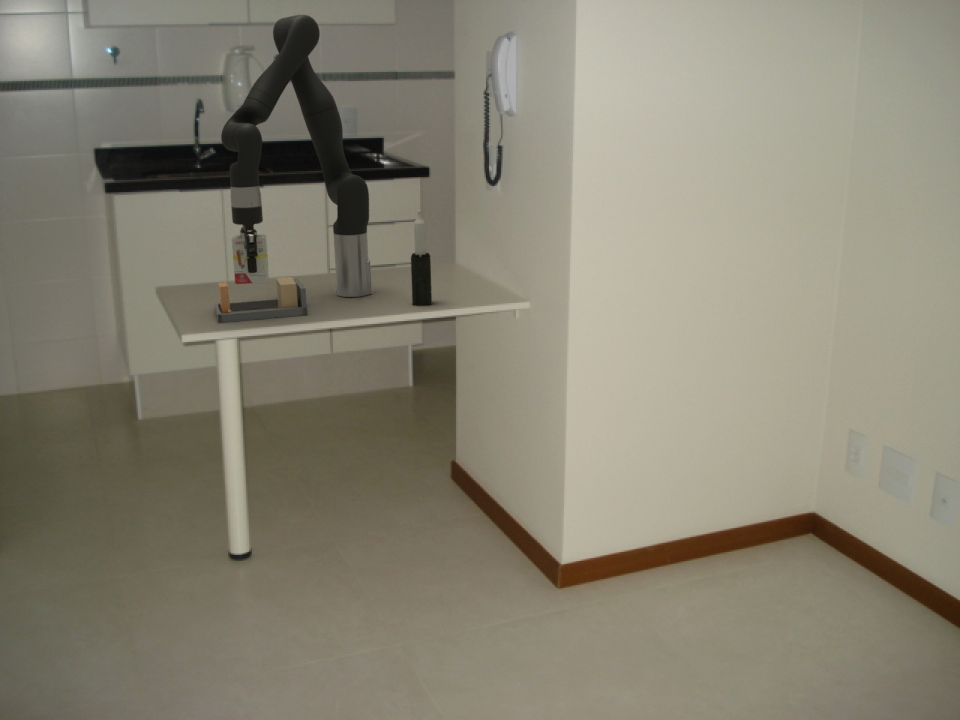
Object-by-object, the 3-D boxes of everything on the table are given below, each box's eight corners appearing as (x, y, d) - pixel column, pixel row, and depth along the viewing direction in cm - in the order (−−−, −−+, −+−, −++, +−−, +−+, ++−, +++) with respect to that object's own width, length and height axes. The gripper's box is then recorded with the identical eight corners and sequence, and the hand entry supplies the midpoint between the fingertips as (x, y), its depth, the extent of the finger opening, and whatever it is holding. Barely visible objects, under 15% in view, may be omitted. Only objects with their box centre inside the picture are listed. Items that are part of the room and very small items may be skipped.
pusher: (228, 310, 263) (225, 280, 261) (231, 319, 254) (228, 288, 251) (220, 310, 262) (217, 280, 260) (223, 320, 253) (220, 288, 251)
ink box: (234, 284, 255) (230, 238, 252) (235, 280, 260) (231, 235, 256) (268, 283, 256) (265, 237, 253) (269, 279, 261) (266, 233, 258)
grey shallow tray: (299, 303, 270) (297, 278, 268) (307, 314, 258) (305, 288, 256) (214, 311, 263) (212, 285, 261) (218, 322, 251) (216, 295, 249)
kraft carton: (293, 306, 268) (291, 277, 265) (298, 314, 259) (296, 283, 257) (278, 307, 266) (276, 278, 264) (282, 315, 258) (280, 285, 256)
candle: (431, 300, 271) (429, 208, 264) (431, 305, 266) (428, 211, 259) (412, 301, 271) (409, 208, 264) (412, 305, 266) (409, 211, 259)
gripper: (264, 207, 247) (269, 274, 252) (258, 200, 260) (263, 264, 265) (233, 208, 245) (239, 277, 249) (228, 201, 258) (234, 266, 263)
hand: (251, 270), depth 257 cm, fingers closed on ink box, 5 cm apart
